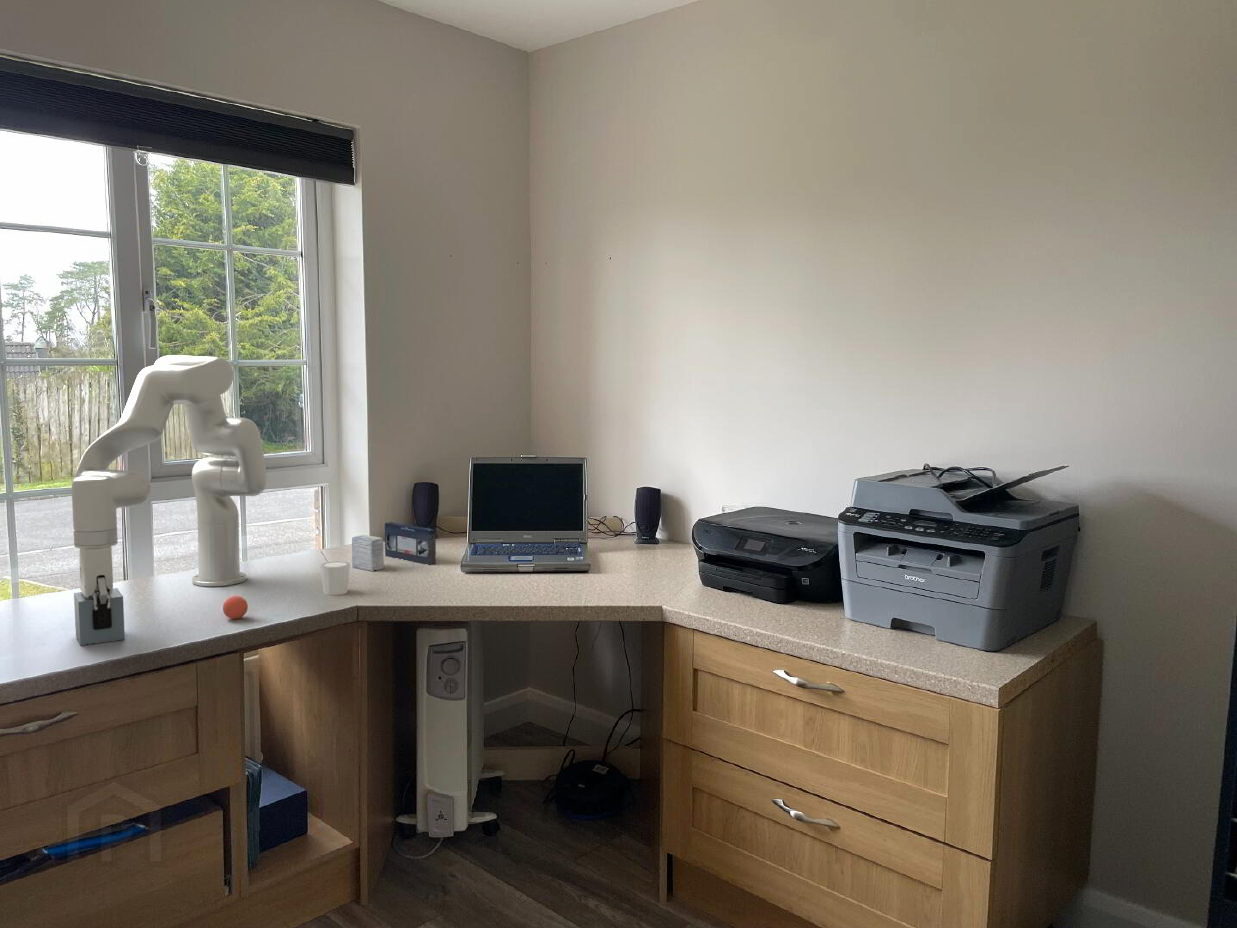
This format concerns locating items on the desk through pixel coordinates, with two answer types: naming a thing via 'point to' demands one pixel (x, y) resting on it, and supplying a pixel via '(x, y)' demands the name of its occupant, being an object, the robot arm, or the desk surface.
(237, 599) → the ball
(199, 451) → the robot arm
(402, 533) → the vhs cassette tape
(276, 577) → the desk surface
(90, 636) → the blue-grey block
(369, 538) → the light grey block
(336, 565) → the white tapered cup
